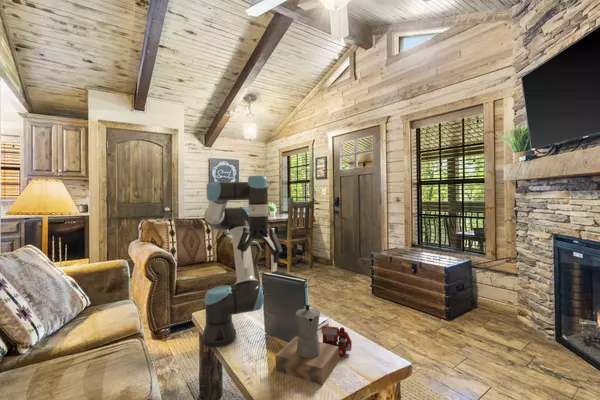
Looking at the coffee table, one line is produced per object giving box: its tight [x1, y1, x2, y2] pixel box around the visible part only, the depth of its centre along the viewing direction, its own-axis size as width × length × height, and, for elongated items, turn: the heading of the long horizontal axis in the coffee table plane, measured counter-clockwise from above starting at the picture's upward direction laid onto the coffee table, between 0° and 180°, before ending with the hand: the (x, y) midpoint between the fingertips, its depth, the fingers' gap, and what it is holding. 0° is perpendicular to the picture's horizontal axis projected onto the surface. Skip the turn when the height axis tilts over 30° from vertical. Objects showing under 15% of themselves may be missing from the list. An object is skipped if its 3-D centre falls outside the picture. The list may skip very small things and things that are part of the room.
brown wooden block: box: [274, 335, 340, 386], centre depth 113 cm, size 19×16×6 cm
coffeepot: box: [295, 303, 321, 358], centre depth 113 cm, size 15×9×18 cm, turn 9°
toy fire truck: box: [321, 325, 352, 358], centre depth 123 cm, size 7×12×10 cm, turn 73°
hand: (259, 269), depth 116 cm, fingers open, 13 cm apart
